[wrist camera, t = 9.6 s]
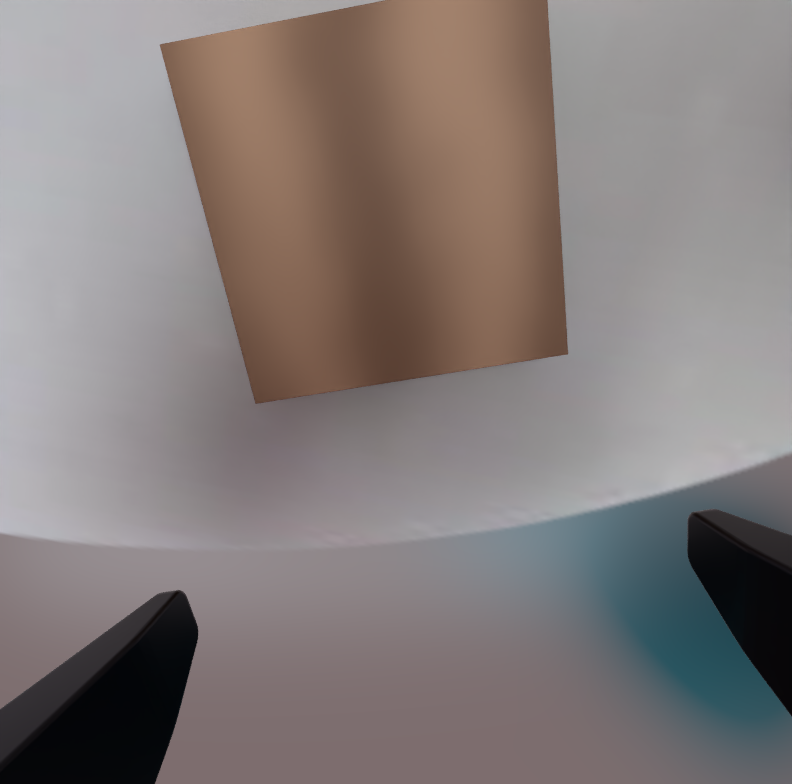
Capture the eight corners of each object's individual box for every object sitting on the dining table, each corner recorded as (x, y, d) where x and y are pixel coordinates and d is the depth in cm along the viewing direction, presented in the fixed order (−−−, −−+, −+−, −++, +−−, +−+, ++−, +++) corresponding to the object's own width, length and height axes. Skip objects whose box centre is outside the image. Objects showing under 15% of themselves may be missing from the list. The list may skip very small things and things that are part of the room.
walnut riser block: (520, 12, 18) (545, -31, 15) (544, 337, 21) (567, 354, 18) (196, 74, 18) (159, 44, 15) (273, 381, 22) (255, 403, 19)
